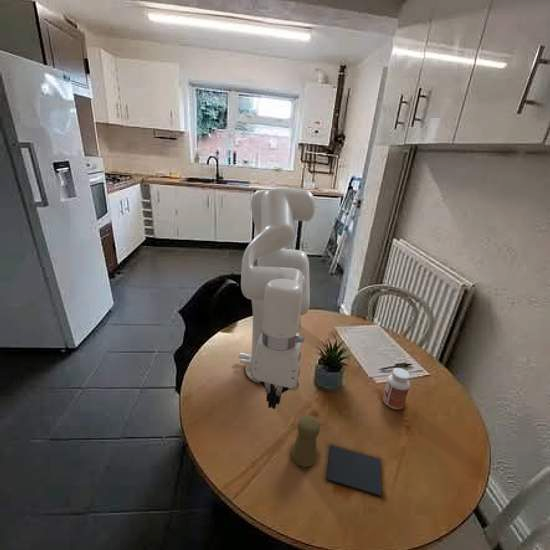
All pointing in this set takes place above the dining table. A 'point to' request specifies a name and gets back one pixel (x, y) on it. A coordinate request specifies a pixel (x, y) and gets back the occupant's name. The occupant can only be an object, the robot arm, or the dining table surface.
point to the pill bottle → (396, 388)
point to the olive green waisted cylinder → (306, 441)
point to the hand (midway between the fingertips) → (273, 404)
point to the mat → (354, 470)
